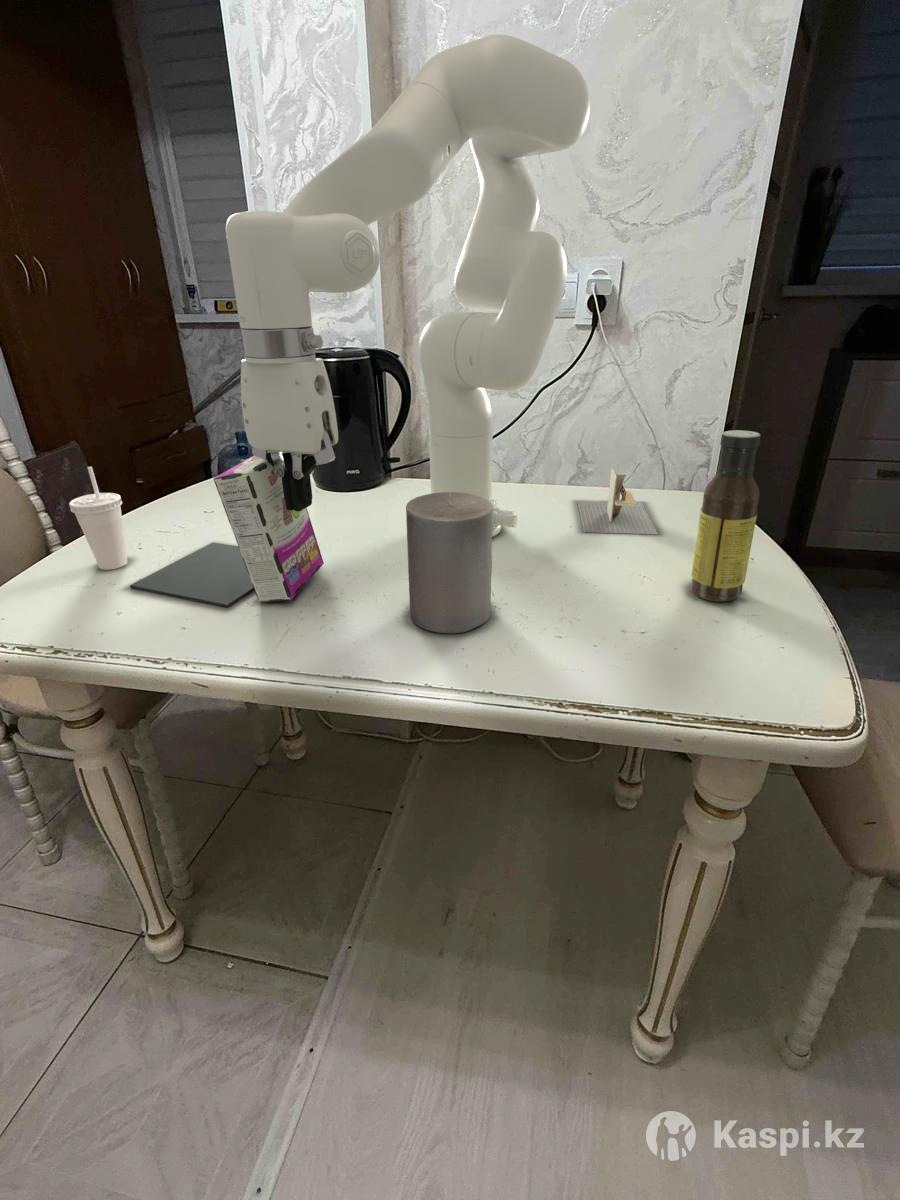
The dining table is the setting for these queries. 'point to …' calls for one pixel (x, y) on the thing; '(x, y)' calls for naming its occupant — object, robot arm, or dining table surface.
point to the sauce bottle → (727, 520)
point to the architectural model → (616, 512)
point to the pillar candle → (449, 560)
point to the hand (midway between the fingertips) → (299, 507)
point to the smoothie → (102, 525)
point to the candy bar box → (268, 530)
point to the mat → (203, 577)
